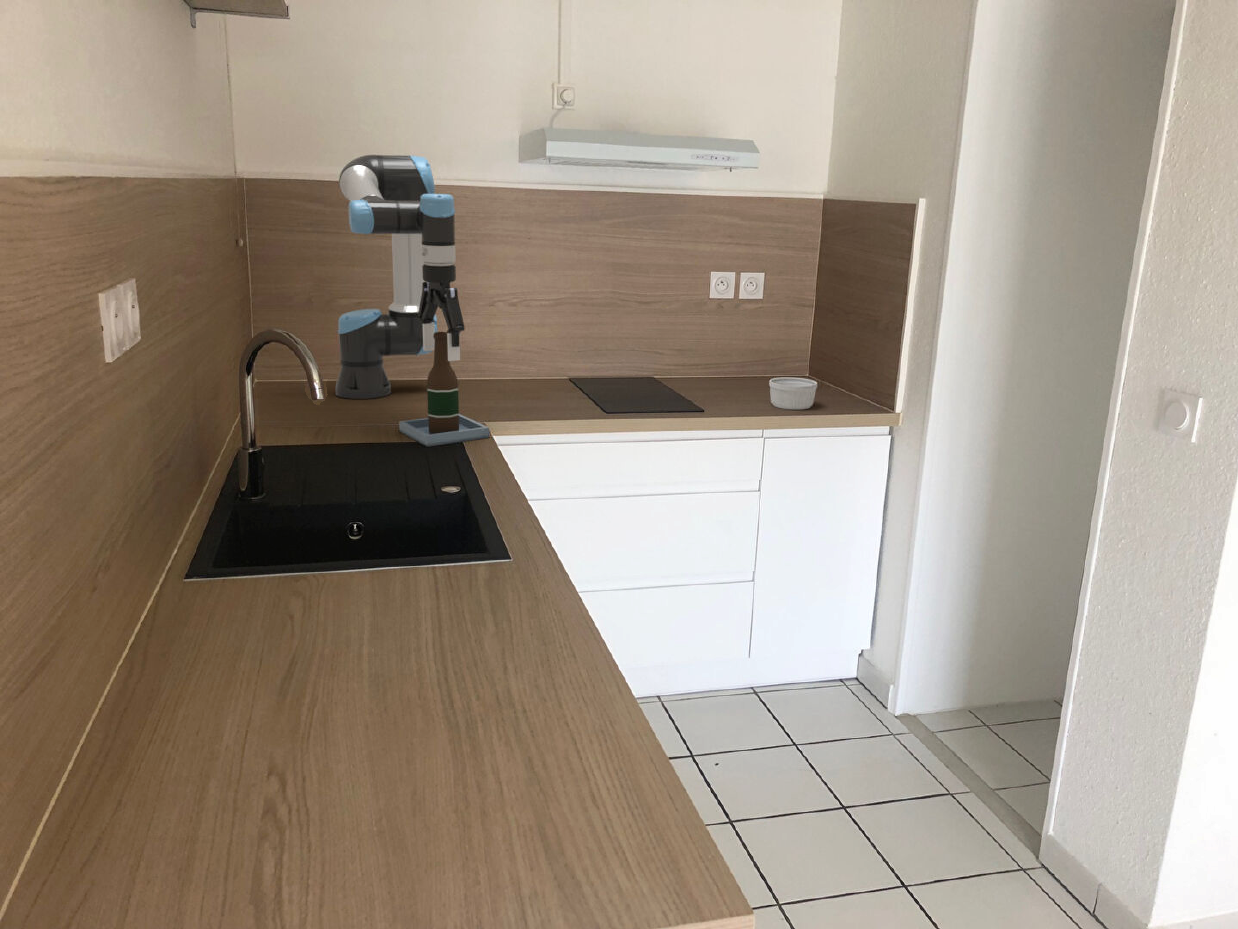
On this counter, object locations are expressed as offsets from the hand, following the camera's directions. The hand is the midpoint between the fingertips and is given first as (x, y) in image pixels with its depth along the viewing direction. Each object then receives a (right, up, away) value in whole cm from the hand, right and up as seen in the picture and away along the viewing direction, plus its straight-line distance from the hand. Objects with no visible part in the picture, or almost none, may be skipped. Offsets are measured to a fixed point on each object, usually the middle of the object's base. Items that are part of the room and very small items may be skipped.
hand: (441, 355), depth 230 cm
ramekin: (+90, -9, +44) cm, 101 cm away
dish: (0, -18, +5) cm, 19 cm away
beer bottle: (0, -18, +5) cm, 19 cm away
